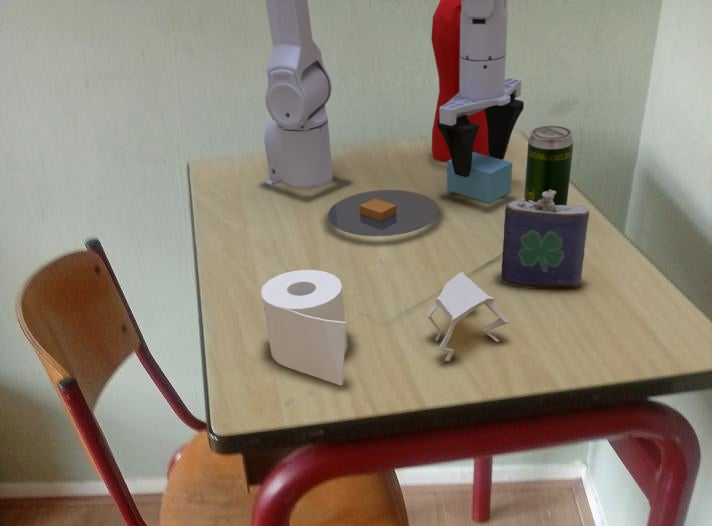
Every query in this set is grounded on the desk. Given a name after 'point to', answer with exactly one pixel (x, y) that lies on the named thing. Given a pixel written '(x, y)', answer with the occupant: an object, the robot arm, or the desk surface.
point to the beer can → (549, 163)
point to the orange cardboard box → (378, 209)
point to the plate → (409, 217)
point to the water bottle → (451, 75)
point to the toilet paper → (307, 323)
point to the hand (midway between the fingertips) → (479, 166)
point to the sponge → (482, 179)
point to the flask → (544, 243)
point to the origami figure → (463, 306)
